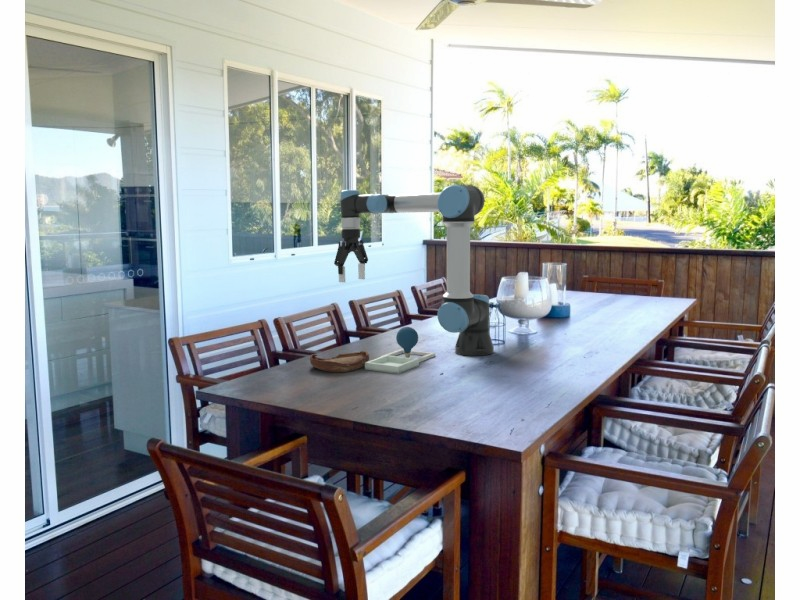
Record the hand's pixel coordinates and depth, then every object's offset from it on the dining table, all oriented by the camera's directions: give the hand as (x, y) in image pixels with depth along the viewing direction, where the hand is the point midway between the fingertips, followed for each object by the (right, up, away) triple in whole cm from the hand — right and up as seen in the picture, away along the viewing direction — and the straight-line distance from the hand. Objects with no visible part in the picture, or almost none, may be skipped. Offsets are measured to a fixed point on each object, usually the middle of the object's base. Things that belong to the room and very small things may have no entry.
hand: (352, 280), depth 285 cm
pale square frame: (+22, -30, -19) cm, 42 cm away
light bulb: (+22, -30, -19) cm, 42 cm away
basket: (-2, -33, -31) cm, 45 cm away
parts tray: (+17, -32, -35) cm, 50 cm away
